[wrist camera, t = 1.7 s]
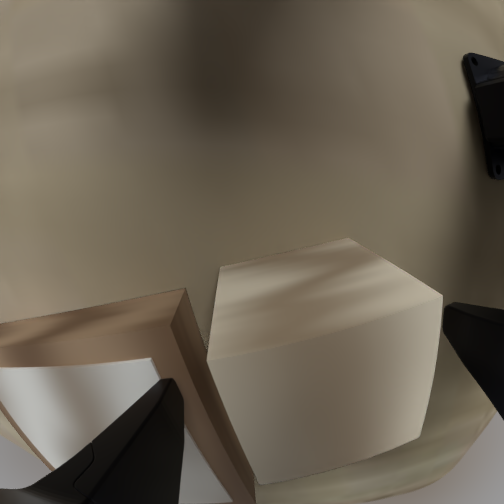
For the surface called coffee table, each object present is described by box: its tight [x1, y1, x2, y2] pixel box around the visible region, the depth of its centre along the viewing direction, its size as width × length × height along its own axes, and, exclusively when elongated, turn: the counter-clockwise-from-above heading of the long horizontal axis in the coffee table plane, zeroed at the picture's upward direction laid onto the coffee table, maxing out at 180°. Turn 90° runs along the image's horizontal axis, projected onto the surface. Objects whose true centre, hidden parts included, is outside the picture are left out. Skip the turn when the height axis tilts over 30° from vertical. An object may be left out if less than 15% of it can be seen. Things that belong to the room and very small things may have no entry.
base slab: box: [0, 288, 256, 504], centre depth 11 cm, size 12×12×3 cm
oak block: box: [207, 238, 443, 485], centre depth 9 cm, size 5×5×6 cm
